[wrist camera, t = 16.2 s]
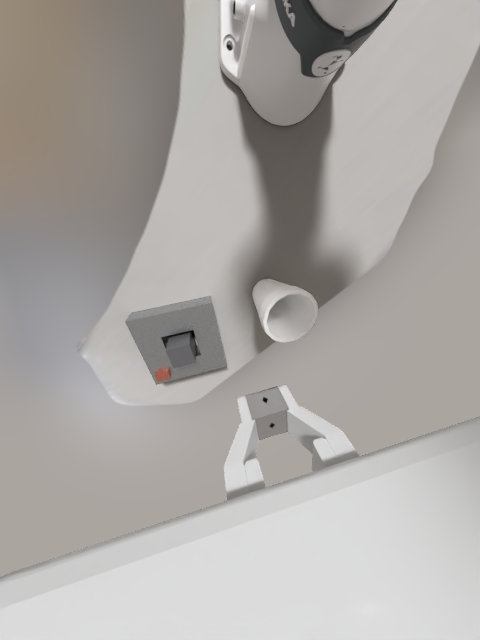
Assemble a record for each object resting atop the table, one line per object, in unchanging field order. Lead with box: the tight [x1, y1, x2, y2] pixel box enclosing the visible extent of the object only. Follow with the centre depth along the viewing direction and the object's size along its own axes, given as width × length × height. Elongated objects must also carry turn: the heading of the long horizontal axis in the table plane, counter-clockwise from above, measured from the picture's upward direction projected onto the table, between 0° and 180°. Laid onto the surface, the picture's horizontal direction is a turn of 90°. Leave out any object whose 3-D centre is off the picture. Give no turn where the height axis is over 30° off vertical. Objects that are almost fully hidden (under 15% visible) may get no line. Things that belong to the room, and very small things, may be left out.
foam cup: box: [252, 279, 318, 343], centre depth 37 cm, size 10×9×13 cm
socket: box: [125, 296, 227, 385], centre depth 41 cm, size 16×16×5 cm
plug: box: [166, 330, 196, 368], centre depth 40 cm, size 4×4×8 cm
